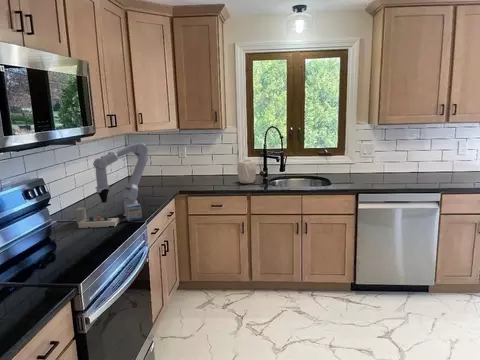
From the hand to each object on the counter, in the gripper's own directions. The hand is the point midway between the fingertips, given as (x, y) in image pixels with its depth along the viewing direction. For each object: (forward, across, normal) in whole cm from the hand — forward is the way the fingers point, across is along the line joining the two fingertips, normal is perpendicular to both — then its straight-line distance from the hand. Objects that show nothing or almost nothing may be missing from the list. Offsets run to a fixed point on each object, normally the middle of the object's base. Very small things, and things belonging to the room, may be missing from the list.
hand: (104, 202), depth 217 cm
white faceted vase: (+11, -98, +85) cm, 130 cm away
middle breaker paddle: (+8, +11, 0) cm, 13 cm away
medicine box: (+11, +2, +17) cm, 20 cm away
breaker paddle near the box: (+8, +11, +4) cm, 14 cm away
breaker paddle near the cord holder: (+8, +11, -4) cm, 14 cm away
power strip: (+10, +11, 0) cm, 15 cm away
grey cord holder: (+10, +3, -13) cm, 17 cm away
